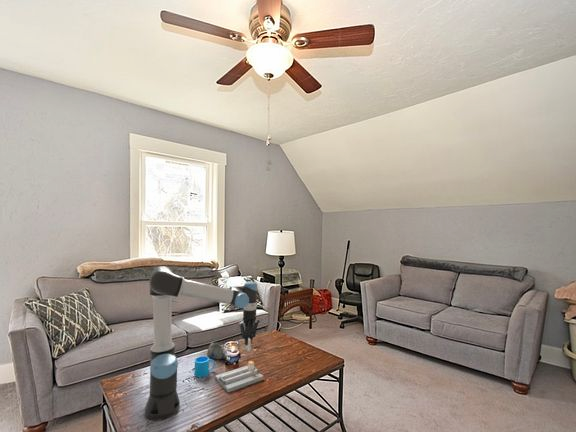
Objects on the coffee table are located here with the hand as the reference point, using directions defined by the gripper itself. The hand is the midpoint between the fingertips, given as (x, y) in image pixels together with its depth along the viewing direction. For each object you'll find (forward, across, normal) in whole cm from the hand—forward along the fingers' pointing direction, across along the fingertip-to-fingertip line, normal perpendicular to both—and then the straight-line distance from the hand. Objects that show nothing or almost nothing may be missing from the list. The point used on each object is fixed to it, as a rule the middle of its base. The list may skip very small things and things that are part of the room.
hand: (247, 350), depth 167 cm
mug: (+16, -18, +18) cm, 30 cm away
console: (+15, -5, 0) cm, 16 cm away
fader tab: (+13, +2, 0) cm, 13 cm away
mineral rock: (+16, -5, +31) cm, 35 cm away
